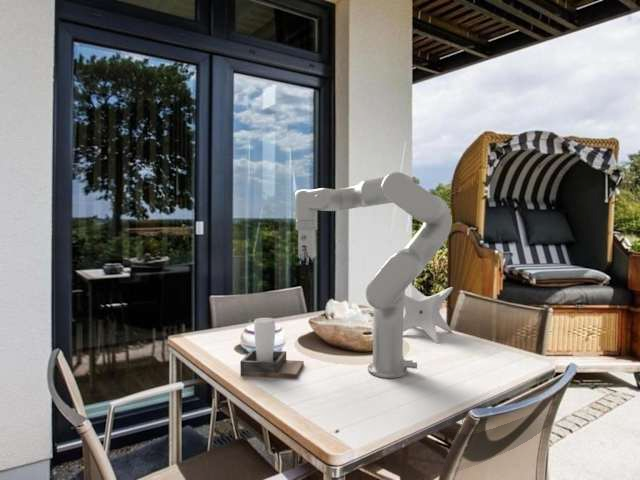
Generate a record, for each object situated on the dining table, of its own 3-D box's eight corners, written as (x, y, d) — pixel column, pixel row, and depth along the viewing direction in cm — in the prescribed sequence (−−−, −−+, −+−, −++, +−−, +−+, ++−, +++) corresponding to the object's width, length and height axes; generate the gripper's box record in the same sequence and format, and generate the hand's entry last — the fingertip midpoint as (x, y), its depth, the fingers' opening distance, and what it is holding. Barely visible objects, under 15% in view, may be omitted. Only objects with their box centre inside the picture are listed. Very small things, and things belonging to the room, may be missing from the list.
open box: (303, 365, 144) (303, 352, 143) (296, 378, 132) (296, 364, 131) (252, 362, 146) (252, 349, 146) (240, 375, 134) (240, 361, 134)
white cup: (271, 369, 136) (271, 323, 135) (251, 368, 137) (251, 322, 136) (277, 362, 142) (277, 318, 141) (258, 360, 143) (258, 317, 143)
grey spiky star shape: (452, 332, 186) (453, 287, 185) (438, 343, 169) (439, 294, 168) (408, 326, 196) (408, 283, 195) (391, 336, 179) (392, 289, 178)
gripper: (313, 226, 139) (313, 278, 139) (320, 225, 156) (320, 271, 157) (290, 226, 140) (291, 277, 140) (300, 225, 157) (300, 271, 158)
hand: (306, 274), depth 148 cm, fingers open, 9 cm apart
